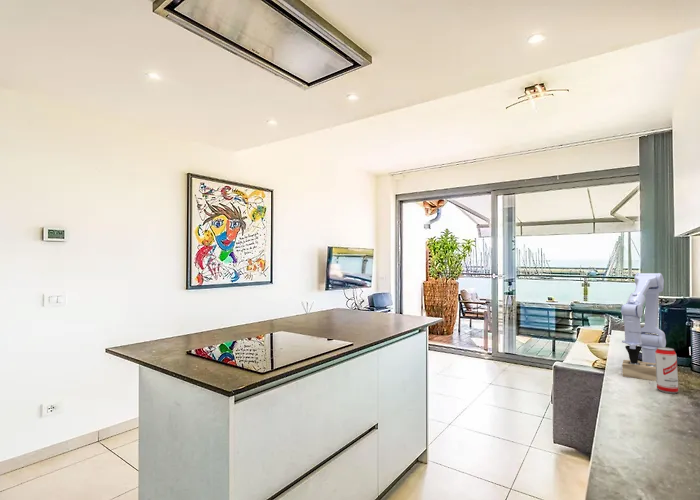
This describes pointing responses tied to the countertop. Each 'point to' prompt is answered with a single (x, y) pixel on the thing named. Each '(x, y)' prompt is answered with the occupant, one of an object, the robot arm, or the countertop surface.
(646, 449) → the countertop surface
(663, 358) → the beer can
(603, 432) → the countertop surface
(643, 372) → the housing
